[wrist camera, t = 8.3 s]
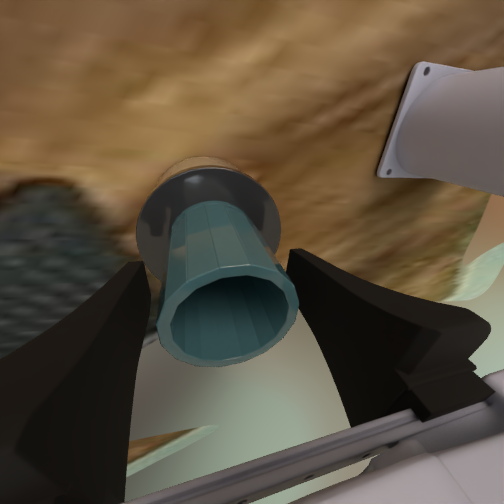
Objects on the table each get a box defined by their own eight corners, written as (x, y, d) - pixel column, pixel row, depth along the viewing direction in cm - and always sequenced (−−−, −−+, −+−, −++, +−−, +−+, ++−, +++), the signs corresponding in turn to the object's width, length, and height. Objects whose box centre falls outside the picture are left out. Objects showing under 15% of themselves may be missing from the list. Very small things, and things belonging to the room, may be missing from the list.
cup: (258, 199, 13) (311, 258, 8) (252, 272, 16) (287, 353, 10) (162, 201, 12) (143, 274, 6) (173, 280, 14) (168, 378, 9)
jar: (264, 155, 16) (290, 168, 12) (255, 254, 21) (273, 287, 17) (136, 150, 14) (117, 165, 10) (157, 262, 19) (150, 303, 15)
